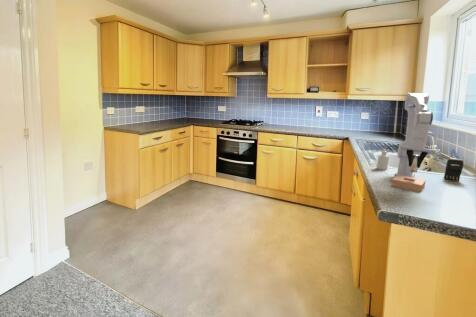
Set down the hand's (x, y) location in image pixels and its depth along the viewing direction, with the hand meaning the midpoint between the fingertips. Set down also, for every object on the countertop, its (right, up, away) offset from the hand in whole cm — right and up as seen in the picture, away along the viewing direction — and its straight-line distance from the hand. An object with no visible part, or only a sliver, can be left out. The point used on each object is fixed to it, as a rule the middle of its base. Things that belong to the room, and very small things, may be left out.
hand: (414, 166), depth 134 cm
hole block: (-2, -9, +2) cm, 9 cm away
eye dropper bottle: (+1, -2, +32) cm, 32 cm away
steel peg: (0, -2, +1) cm, 2 cm away
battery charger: (+29, -8, +15) cm, 33 cm away
